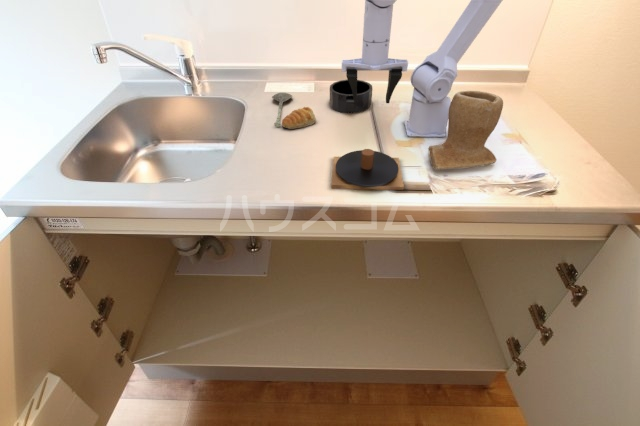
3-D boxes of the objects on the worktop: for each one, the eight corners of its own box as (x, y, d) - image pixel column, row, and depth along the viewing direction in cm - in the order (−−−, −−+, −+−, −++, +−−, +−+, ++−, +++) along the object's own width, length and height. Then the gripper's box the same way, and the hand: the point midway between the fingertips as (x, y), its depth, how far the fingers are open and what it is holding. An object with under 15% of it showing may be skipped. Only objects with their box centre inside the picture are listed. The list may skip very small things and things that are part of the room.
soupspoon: (294, 98, 105) (274, 99, 105) (292, 87, 103) (272, 89, 103) (289, 126, 88) (265, 128, 88) (287, 115, 86) (263, 117, 86)
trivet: (398, 161, 74) (398, 157, 73) (403, 190, 66) (404, 186, 65) (333, 160, 75) (333, 156, 75) (331, 188, 67) (331, 184, 66)
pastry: (290, 133, 85) (289, 120, 83) (277, 125, 89) (275, 112, 87) (318, 122, 90) (317, 109, 87) (303, 115, 94) (303, 102, 91)
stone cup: (475, 143, 79) (495, 81, 69) (500, 170, 70) (528, 104, 60) (415, 148, 78) (428, 87, 68) (434, 176, 69) (451, 110, 59)
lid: (379, 149, 76) (381, 131, 73) (410, 180, 67) (413, 161, 63) (326, 161, 73) (326, 143, 70) (350, 195, 64) (351, 176, 60)
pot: (369, 93, 104) (371, 76, 101) (371, 117, 91) (373, 99, 87) (331, 93, 105) (331, 76, 102) (328, 117, 92) (327, 99, 88)
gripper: (341, 44, 65) (340, 108, 74) (413, 44, 64) (403, 108, 73) (342, 36, 70) (341, 96, 80) (409, 35, 69) (400, 96, 78)
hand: (371, 101), depth 77 cm, fingers open, 7 cm apart
